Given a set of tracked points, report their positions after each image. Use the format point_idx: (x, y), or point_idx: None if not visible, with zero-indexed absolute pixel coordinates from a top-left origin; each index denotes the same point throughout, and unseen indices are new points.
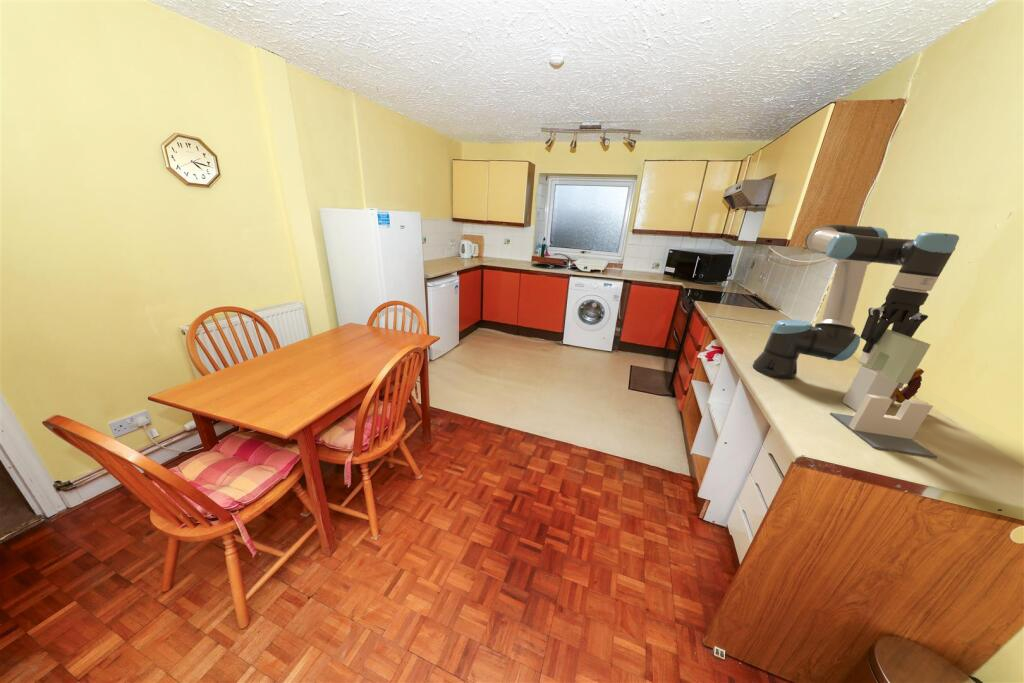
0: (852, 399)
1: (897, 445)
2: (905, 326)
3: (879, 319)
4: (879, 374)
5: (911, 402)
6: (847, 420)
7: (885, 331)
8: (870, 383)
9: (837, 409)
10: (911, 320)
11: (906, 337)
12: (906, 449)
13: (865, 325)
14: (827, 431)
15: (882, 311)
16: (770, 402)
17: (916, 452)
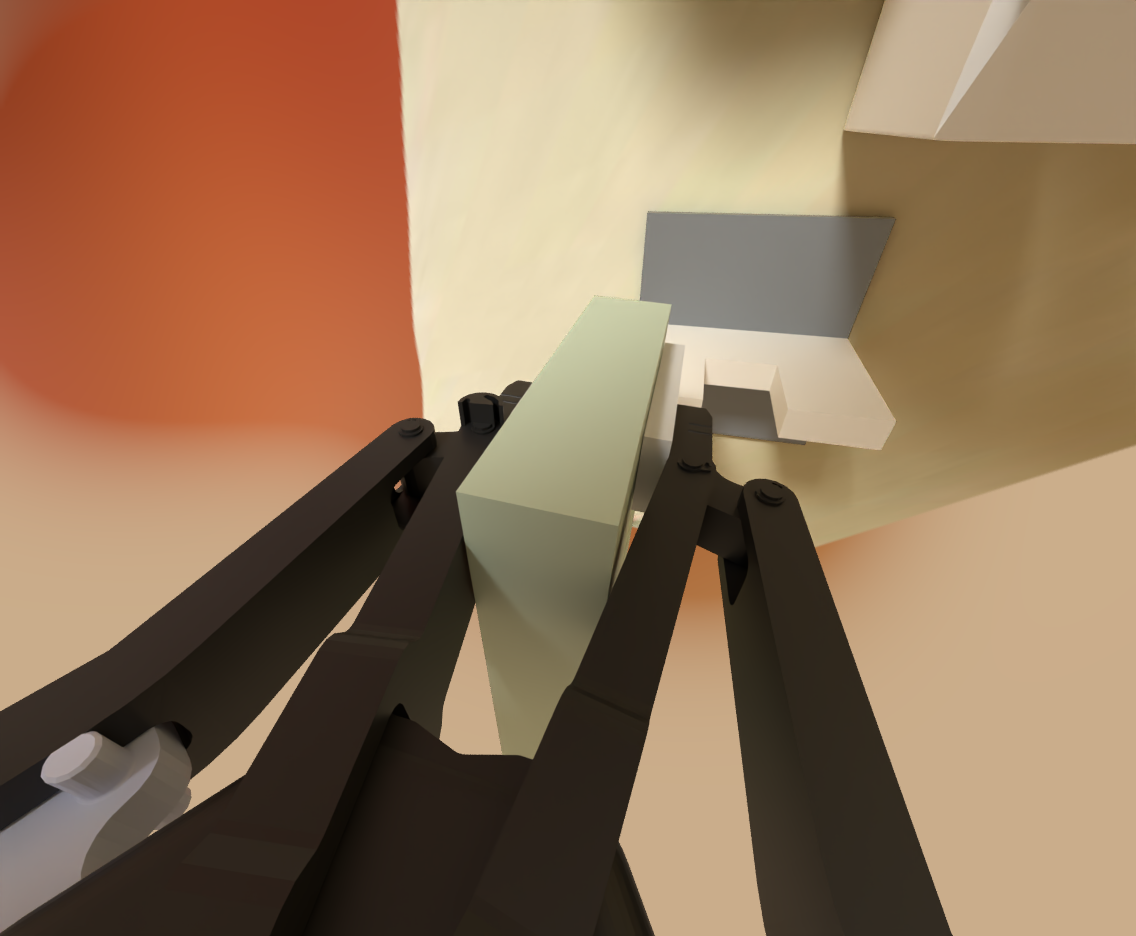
0: (883, 41)
1: (718, 408)
2: (786, 709)
3: (333, 642)
4: (957, 136)
5: (786, 432)
6: (673, 273)
7: (478, 602)
8: (908, 117)
9: (740, 131)
10: (806, 911)
11: (529, 717)
12: (728, 423)
13: (283, 525)
14: (546, 357)
15: (145, 854)
16: (428, 173)
17: (747, 433)
